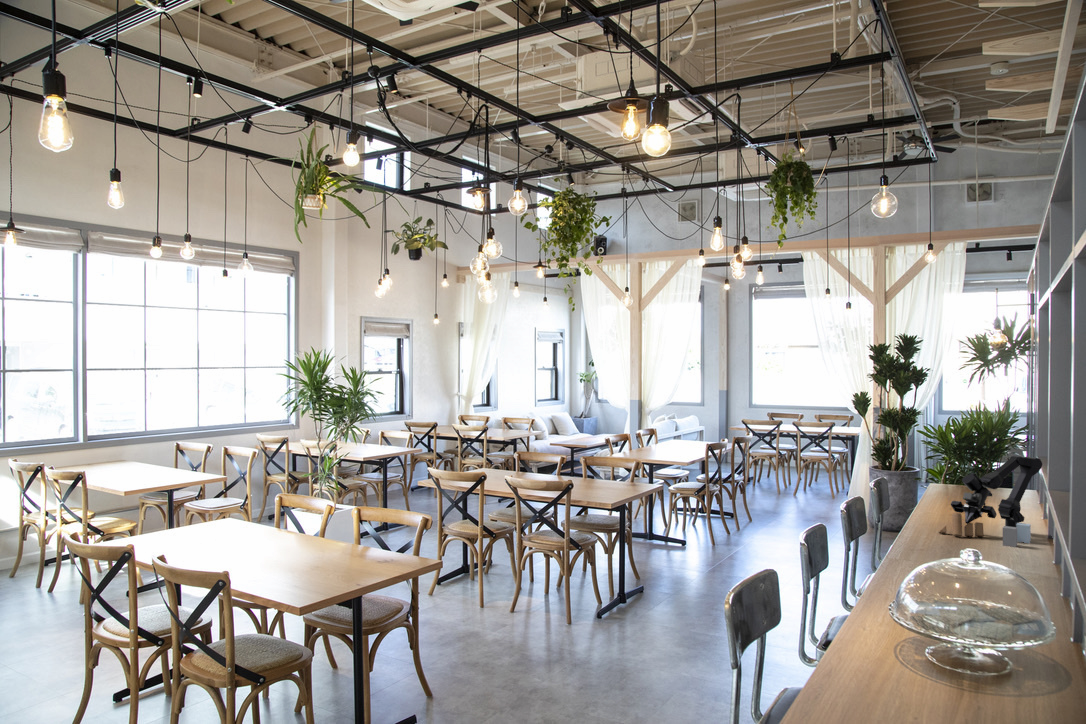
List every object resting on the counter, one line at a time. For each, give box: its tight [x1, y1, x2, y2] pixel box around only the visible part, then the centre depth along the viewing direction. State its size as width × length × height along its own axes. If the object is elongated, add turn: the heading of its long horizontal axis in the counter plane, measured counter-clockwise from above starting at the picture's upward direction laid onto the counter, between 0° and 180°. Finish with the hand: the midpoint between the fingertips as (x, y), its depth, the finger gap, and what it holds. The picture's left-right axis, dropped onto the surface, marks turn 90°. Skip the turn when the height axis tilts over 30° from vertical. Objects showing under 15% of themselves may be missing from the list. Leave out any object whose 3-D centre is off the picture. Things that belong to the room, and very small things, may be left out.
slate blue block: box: [1016, 522, 1032, 544], centre depth 329 cm, size 5×5×8 cm
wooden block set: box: [938, 512, 985, 538], centre depth 339 cm, size 18×9×10 cm, turn 70°
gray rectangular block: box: [1002, 525, 1018, 548], centre depth 321 cm, size 5×5×8 cm
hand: (966, 523), depth 337 cm, fingers closed
